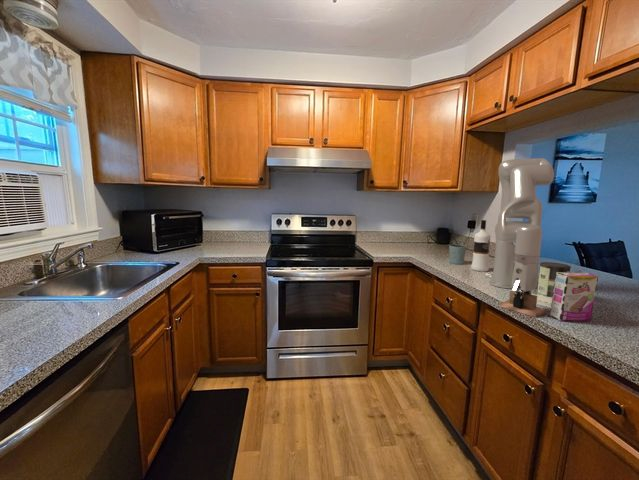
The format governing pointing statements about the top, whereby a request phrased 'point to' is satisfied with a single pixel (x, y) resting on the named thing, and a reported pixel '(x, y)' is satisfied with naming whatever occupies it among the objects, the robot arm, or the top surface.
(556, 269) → the coffee can
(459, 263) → the light blue cup
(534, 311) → the plate with tan block
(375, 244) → the top surface
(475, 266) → the vodka
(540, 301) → the block
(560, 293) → the candy bar box
